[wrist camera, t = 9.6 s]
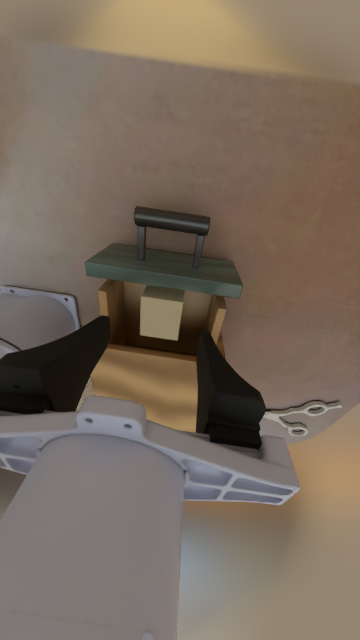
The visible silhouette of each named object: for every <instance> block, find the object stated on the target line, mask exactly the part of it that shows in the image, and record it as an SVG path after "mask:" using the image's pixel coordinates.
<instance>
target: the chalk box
mask: <svg viewBox="0 0 360 640" xmlns="http://www.w3.org/2000/svg"><path fill="white" fill-rule="evenodd" d="M184 294H185V290H179V289H172V288H165V287H159V286H152V285H147V286H146V288H145V289H144V291H143V293H142V295H141V307H140V335H142V336H149V337H156V338H163V339H169V340H176V341H177V340H178V334H179V328H180V322H181V315H182V309H183V302H184Z"/></svg>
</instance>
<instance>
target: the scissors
mask: <svg viewBox="0 0 360 640" xmlns="http://www.w3.org/2000/svg"><path fill="white" fill-rule="evenodd" d="M312 407H322V408H321V409H319V410H314V411H313V410H309V409H310V408H312ZM341 407H342V405H341V403H340V402H336V403H331V404H325V403H323V402H320V401H313V402H310V403H307V404H305V405H304V406H302V407H299V408H290V409H288V410H284V411H274V410H273V411H266V412H265V414H264V416H263V417H264V418H266V419H270V420H273V421H276V422H279V423H280V424H281V425H282V426H283V427H287V429H288V432H289V433H290V434H291V435H293V436H304V435H306V434H307V433H308V430H307V428H306V426H304V425H303V424H300V423H297V424H289V423H285V422H284V421H283V420H281V419H280V417H281V416H285V415H288V414H292V413H305V414H307V415H309V416H317V415H321V414H323V413H325V412H326V411H327V410H329V409H333V408H341ZM293 429H302V430H303V431H301V432H293V431H292V430H293Z"/></svg>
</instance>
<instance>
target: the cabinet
mask: <svg viewBox="0 0 360 640" xmlns="http://www.w3.org/2000/svg"><path fill="white" fill-rule="evenodd" d="M216 345H217V347H218V349H219V351H220V352H221V354H222V355H223V357H224V358H225V354H224V347H223V341H222V334H221V331H220V334H219V337H218V341H217V344H216ZM196 359H197V357H196V356H189V355H182V354H175V353H169V352H162V351H155V350H148V349H142V348H135V347H128V346H121V345H114V344H108V346H107V348H106V350H105V351H104V353H103V355H102V357H101V358H100V360H99V362H98V363H97V365H96V367H95V368H94V370H93V372H92V373H91V380H92V386H93V391H94V396H104V397H111V398H117V399H124V400H131V401H135V402H138V403H140V404H141V405H142V406H144V407H145V410H146V419H148V420H150V421H153V422H156V423H159V424H161V425H164V426H167V427H170V428H173V429H175V430H181V431H188V432H194V433H196V418H197V400H198V382H197V365H196Z"/></svg>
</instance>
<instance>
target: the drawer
mask: <svg viewBox="0 0 360 640" xmlns="http://www.w3.org/2000/svg"><path fill="white" fill-rule="evenodd" d="M134 221H135V224H136V225H139V226H138V247H132V246H126V245H119V244H111V245H110V246H108V247H107V248H105V249H104V250H102V251H101V252H99V253H98V254H96V255H95V256H93V257H92V258H90V259H89V260H87V261H86V262H85V268H86V275H87V276H92V277H98V278H105V279H108V280H107V281H106V282H105V283H104V284H103V285H102V286H101V287H100V288H99V289H98V300H99V309H100V316H101V315H103V316H109V317H110V330H111V338H110V341H109V343H108V344H114V345H121V346H128V347H135V348H142V349H148V350H155V351H162V352H169V353H175V354H182V355H189V356H196V357H197V349H198V344H199V340H200V336H201V332H202V331H207V332H210V333H211V335H212V338H213V340H214V342H215V344H217V341H218V337H219V334H220V331H221V327H222V324H223V321H224V317H225V314H226V310H227V309H226V305H225V300H224V296H225V297H232V298H240V295H241V292H242V289H243V284H242V282H241V279H240V277H239V275H238V273H237V270H236V268H235V266H234V264H233V262H232V261H225V260H219V259H212V258H205V257H201V254H202V248H203V243H204V237H205V236H207V234H208V231H209V225H210V217H206V216H199V215H193V214H186V213H180V212H173V211H166V210H160V209H153V208H147V207H140V206H136V208H135V212H134ZM146 227H152V228H159V229H165V230H172V231H179V232H185V233H192V234H198V235H197V240H196V247H195V253H194V256H192V255H185V254H179V253H172V252H165V251H159V250H152V249H146ZM204 235H205V236H204ZM147 285H152V286H159V287H165V288H172V289H179V290H185V294H184V302H183V309H182V315H181V322H180V328H179V334H178V340H177V341H176V340H169V339H163V338H156V337H149V336H142V335H140V307H141V295H142V293H143V291H144V289H145V288H146V286H147Z"/></svg>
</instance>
